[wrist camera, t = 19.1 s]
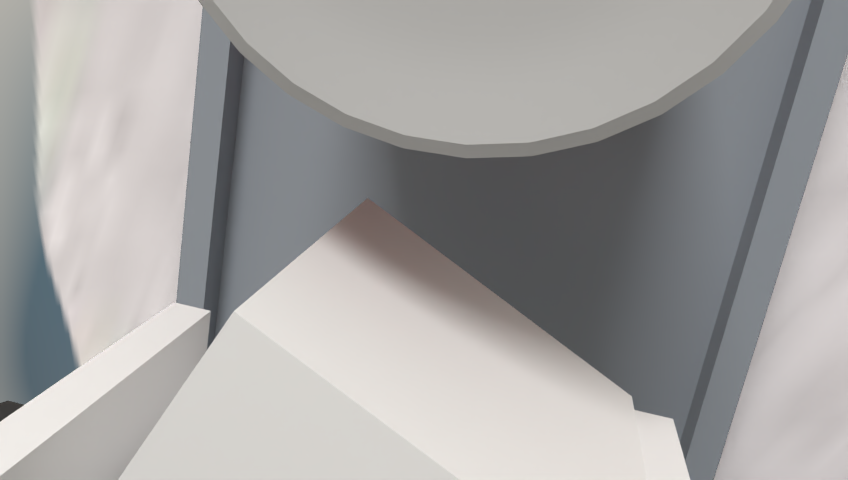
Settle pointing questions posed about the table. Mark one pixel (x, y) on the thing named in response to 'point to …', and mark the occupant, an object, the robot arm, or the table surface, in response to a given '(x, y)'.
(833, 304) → the table surface
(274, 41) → the canned food
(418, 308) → the light grey cube
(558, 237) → the grey tray
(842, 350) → the table surface
